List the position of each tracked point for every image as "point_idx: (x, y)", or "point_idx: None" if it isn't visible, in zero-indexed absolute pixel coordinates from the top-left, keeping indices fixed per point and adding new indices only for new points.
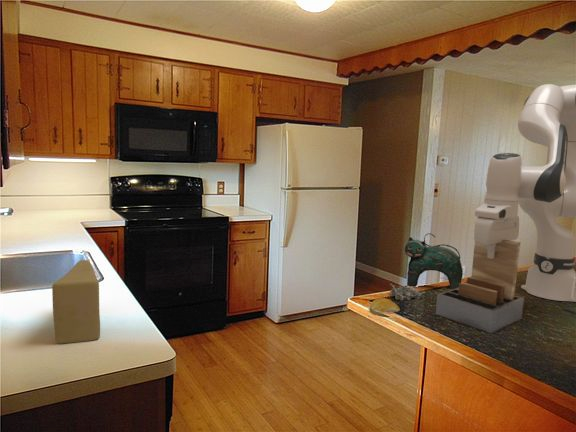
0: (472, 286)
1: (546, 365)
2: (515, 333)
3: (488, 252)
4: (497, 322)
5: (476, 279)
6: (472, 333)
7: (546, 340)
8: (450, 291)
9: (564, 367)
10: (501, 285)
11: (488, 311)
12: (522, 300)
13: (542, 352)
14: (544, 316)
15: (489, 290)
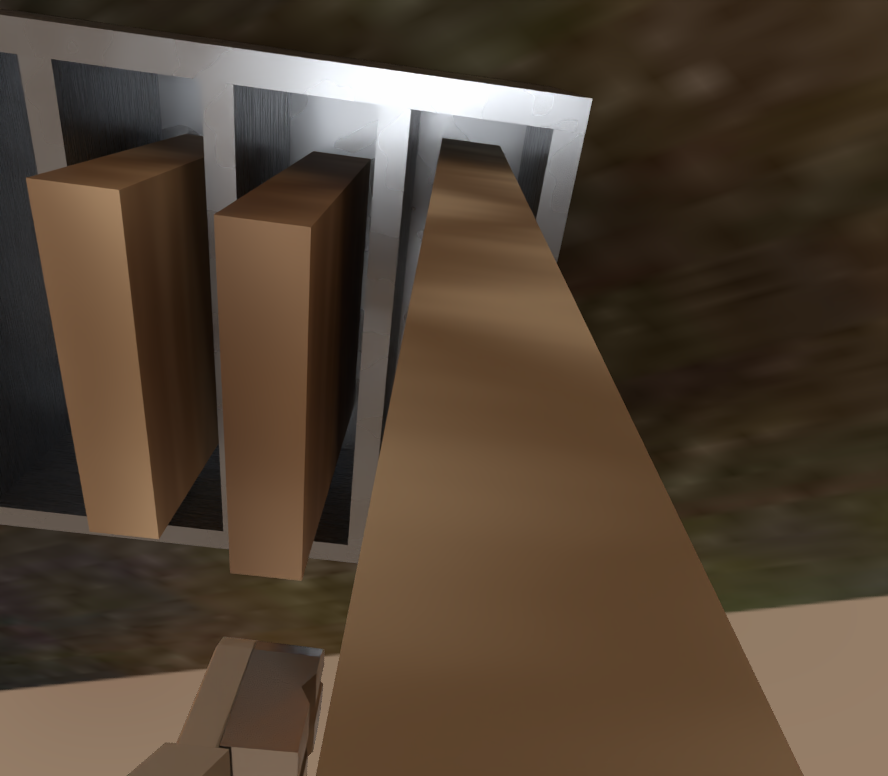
0: (65, 341)
1: (55, 626)
2: None
3: (187, 738)
4: None
5: (242, 330)
6: None
7: (331, 584)
8: (69, 61)
9: (106, 664)
10: (256, 565)
11: None
12: None
13: (169, 597)
14: (725, 516)
15: (109, 491)
